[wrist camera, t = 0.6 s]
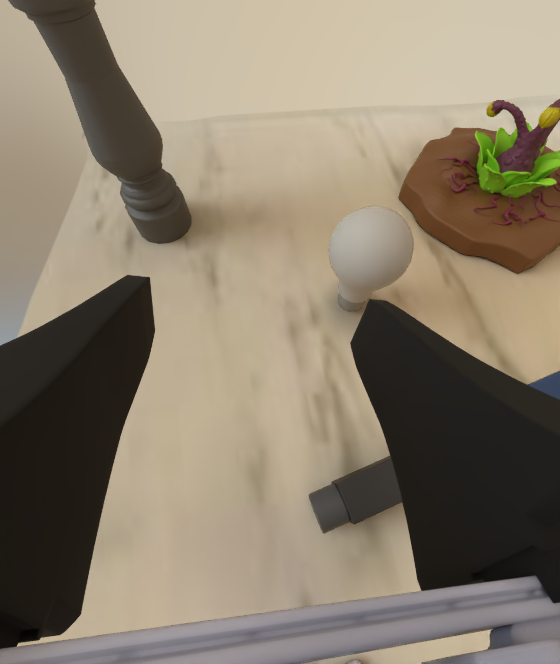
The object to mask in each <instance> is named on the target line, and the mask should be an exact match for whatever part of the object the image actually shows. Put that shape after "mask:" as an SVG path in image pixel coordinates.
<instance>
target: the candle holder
mask: <svg viewBox="0 0 560 664" xmlns="http://www.w3.org/2000/svg"><path fill="white" fill-rule="evenodd" d="M9 2H10V3H11V4H12V5H13V7H14V8H16V9H19V10H21V11H23V12H25V13H26V15H27V17H28V18H29V19H30V20H32V21H34V23H35V25H36V26H37V28H38V30H39V32H40V34H41V35H42V37H43V39H44V40H45V42H46V44H47V46H48V48H49V50H50V51H51V53H52V55H53V56H54V59H55V60H56V62H57V64H58V66H59V67H60V69H61V71H62V73H63V75H64V77H65V79H66V82H67V85H68V88H69V91H70V94H71V96H72V99H73V102H74V105H75V108H76V110H77V113H78V116H79V119H80V122H81V124H82V127H83V130H84V133H85V136H86V139H87V142H88V145H89V147H90V150H91V152H92V154H93V156H94V157H95V159H96V161H97V162H98V163H99V164H100V165H101V166H102V167H103V168H105V169H106V170H108V171H109V172H111V173H112V174H114V175H115V176H117V178H118V180H119V181H121V182H122V184H121V191H120V194H121V197H122V199H123V201H124V203H125V204H126V205H125V207H126V210H127V212H128V214H129V216H130V217H131V219H132V221H133V222H134V224H135V226H136V227H137V229H138V230H139V232H140V234H141V235H142V237H144V238H145V239H146V240H148V241H149V242H154V243H169V242H172V241H174V240H177V239H179V238H180V237H182V236H183V235H184V234H185V233H186V232H187V231H188V229H189V228H190V226H191V215H190V212H189V210H188V207H187V204H186V202H185V199H184V196H183V194H182V192H181V190H180V189H179V187H178V186H176V182H175V180H174V178H173V177H172V175H171V174H169V173H168V172H166V171H165V170H164V169H162V163H161V159H162V149H163V144H162V138H161V135H160V133H159V131H158V129H157V128H156V126H155V124H154V123H153V121H152V120H151V118H150V116H149V115H148V113H147V112H146V110H145V108H144V107H143V105H142V104H141V102H140V100H139V99H138V97H137V95H136V94H135V92H134V90H133V89H132V87H131V85H130V84H129V82H128V81H127V79H126V77H125V76H124V74H123V73H122V71H121V69H120V68H119V66H118V64H117V62H116V59H115V57H114V55H113V52H112V50H111V47H110V45H109V43H108V40H107V38H106V35H105V33H104V30H103V28H102V26H101V23H100V21H99V18H98V16H97V13H96V11H95V9H94V6H95V4H96V3H95V1H94V0H9Z"/></svg>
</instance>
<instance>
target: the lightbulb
mask: <svg viewBox="0 0 560 664" xmlns="http://www.w3.org/2000/svg"><path fill="white" fill-rule="evenodd" d="M413 248H414V242H413V236H412V233H411V230H410V227H409V226H408V224H407V222H406V221H405V220H404V219H403V217H402V216H401V215H399V214H398V213H397V212H395V211H393V210H391V209H388V208H385V207H380V206H368V207H364V208H361V209H358V210H355V211H354V212H352V213H350V214H349V215H347V216H346V217H345V218H344V219H342V220H341V222H340V223H339V224H338V226H337V227H336V228H335V230H334V232H333V234H332V236H331V239H330V243H329V250H328V251H329V259H330V264H331V267H332V269H333V271H334V272H335V274H336V276H337V277H338V279H339V283H338V290H339V293H338V303H339V305H340V306H341V307H342V308H343V309H345V310H347V311H356V310H359V309H360V308H361V307H362V305H363V304H364V302H365V301H366V300H367V299H368V298H369V297H370V296H371V295H372V293H373V292H374V291H375V290H378V289H381V288H383V287H385V286H388V285H390V284H392V283H393V282H395V281H396V280H397V279H398V278H399V277H400V276H401V275H402V274H403V273H404V272H405V271H406V269H407V267H408V265H409V263H410V262H411V258H412V254H413Z"/></svg>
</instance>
